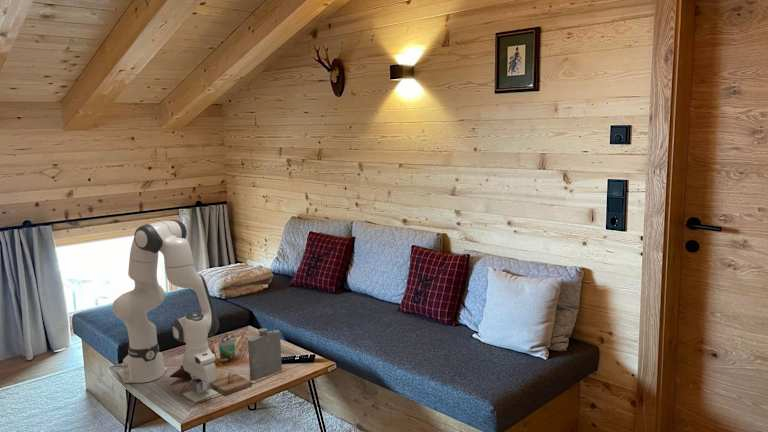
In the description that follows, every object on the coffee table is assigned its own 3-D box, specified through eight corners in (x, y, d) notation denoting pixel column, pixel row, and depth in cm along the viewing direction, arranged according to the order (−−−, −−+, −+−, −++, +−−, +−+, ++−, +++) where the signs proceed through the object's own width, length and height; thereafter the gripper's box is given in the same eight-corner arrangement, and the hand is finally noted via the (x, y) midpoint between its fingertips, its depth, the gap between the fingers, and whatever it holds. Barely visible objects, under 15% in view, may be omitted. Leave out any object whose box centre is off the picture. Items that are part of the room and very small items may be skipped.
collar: (190, 389, 242) (189, 380, 241) (203, 385, 245) (202, 376, 245) (197, 394, 238) (196, 384, 237) (210, 389, 242) (209, 380, 241)
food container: (233, 363, 272) (232, 342, 270) (219, 364, 272) (218, 342, 270) (240, 353, 284) (238, 333, 283) (227, 353, 284) (225, 333, 283)
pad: (183, 394, 242) (183, 393, 242) (205, 386, 249) (205, 385, 249) (195, 402, 235) (195, 401, 235) (218, 393, 242) (218, 392, 242)
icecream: (175, 373, 247) (207, 364, 259) (166, 364, 252) (198, 356, 263) (173, 388, 249) (205, 378, 260) (164, 379, 253) (195, 370, 265)
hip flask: (253, 381, 253) (250, 335, 250) (247, 378, 256) (244, 333, 252) (283, 369, 264) (281, 325, 261) (277, 366, 267) (275, 323, 264)
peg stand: (210, 387, 248) (209, 373, 247) (235, 378, 256) (235, 364, 256) (225, 395, 240) (224, 381, 239) (251, 386, 248) (250, 372, 247)
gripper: (177, 349, 244) (180, 381, 246) (203, 362, 230) (205, 396, 232) (192, 344, 249) (194, 376, 251) (217, 357, 234) (220, 391, 236)
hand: (200, 386), depth 241 cm, fingers closed on collar, 6 cm apart
